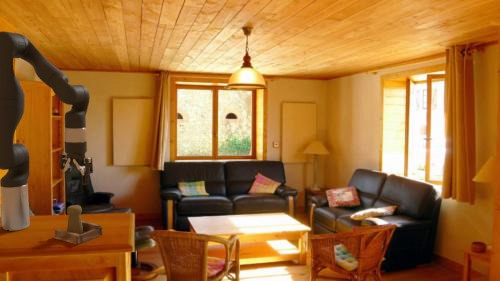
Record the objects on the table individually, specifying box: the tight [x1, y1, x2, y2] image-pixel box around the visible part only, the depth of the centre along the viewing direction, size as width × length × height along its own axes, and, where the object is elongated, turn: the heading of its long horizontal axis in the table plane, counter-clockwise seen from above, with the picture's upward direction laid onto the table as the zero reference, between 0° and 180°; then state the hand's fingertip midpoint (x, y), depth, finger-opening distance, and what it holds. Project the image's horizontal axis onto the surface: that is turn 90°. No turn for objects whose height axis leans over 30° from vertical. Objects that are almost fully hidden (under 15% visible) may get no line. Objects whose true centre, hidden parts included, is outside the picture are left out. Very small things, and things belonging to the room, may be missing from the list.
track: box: [53, 220, 103, 246], centre depth 153 cm, size 13×11×4 cm
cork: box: [66, 204, 84, 234], centre depth 154 cm, size 6×6×11 cm
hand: (76, 183), depth 151 cm, fingers open, 8 cm apart
